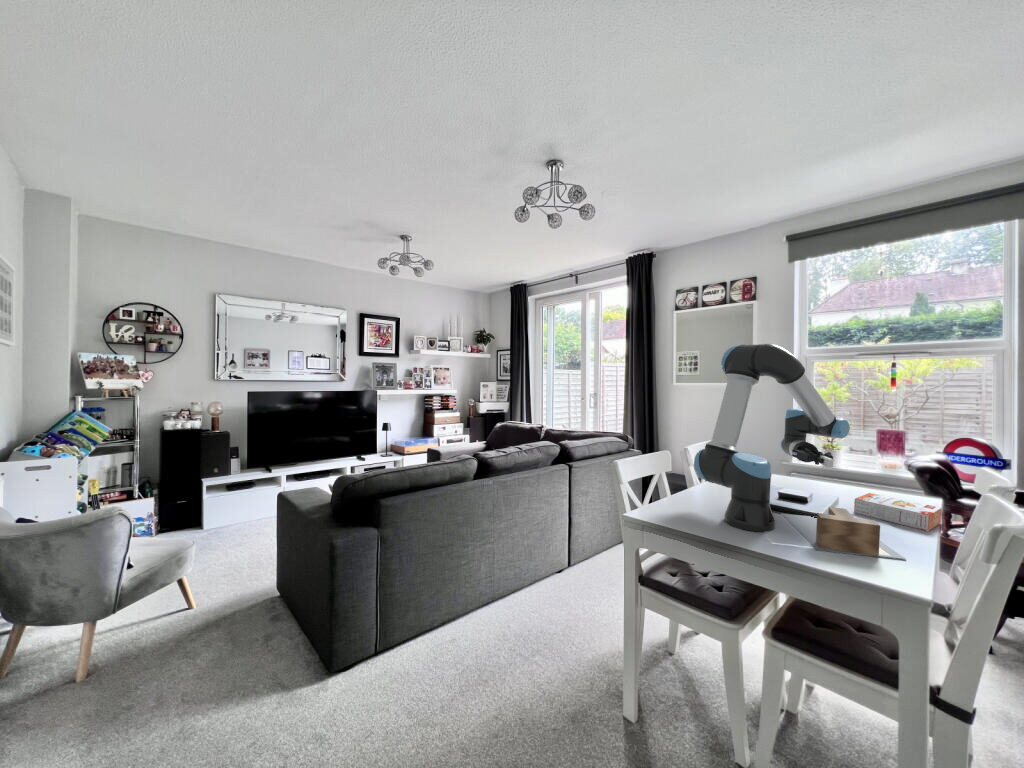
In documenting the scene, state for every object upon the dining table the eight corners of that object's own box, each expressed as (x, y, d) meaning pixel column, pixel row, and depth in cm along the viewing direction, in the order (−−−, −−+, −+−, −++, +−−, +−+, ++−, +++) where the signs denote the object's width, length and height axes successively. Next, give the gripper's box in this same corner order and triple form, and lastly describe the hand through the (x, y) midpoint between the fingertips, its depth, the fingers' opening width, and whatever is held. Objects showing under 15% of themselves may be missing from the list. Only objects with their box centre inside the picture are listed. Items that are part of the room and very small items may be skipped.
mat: (816, 550, 126) (816, 548, 126) (780, 514, 157) (780, 513, 157) (906, 560, 120) (906, 559, 120) (850, 521, 151) (850, 520, 151)
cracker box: (868, 491, 167) (942, 507, 150) (867, 506, 167) (941, 524, 150) (854, 497, 159) (930, 514, 142) (853, 513, 160) (929, 532, 142)
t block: (819, 547, 128) (820, 517, 127) (809, 531, 140) (810, 504, 139) (878, 556, 122) (880, 525, 121) (863, 539, 134) (864, 511, 134)
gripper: (822, 462, 165) (852, 476, 142) (784, 459, 168) (807, 472, 145) (823, 442, 164) (854, 453, 142) (785, 440, 168) (808, 450, 145)
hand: (830, 463), depth 144 cm, fingers closed
